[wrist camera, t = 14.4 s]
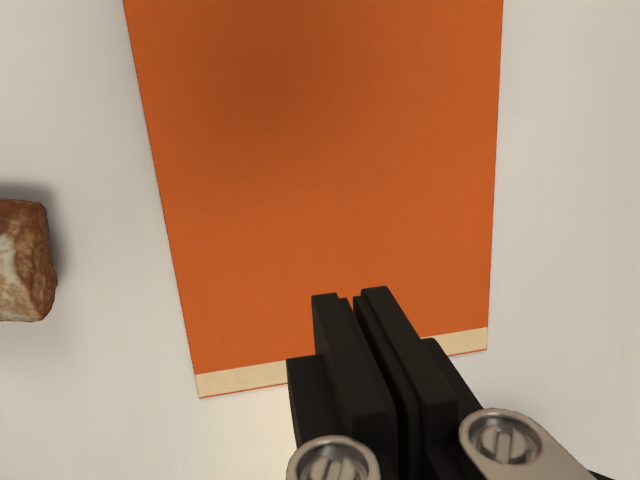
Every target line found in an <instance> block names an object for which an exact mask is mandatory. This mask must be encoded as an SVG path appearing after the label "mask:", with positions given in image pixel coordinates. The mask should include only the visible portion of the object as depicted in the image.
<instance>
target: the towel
mask: <svg viewBox="0 0 640 480" xmlns="http://www.w3.org/2000/svg"><path fill="white" fill-rule="evenodd" d="M123 5H124V10H125V15H126V20H127V26H128V31H129V36H130V41H131V46H132V52H133V57H134V62H135V67H136V72H137V78H138V83H139V88H140V93H141V98H142V104H143V109H144V114H145V119H146V124H147V129H148V135H149V140H150V145H151V150H152V155H153V161H154V166H155V171H156V176H157V181H158V187H159V192H160V197H161V202H162V207H163V213H164V218H165V223H166V228H167V233H168V239H169V244H170V249H171V254H172V259H173V265H174V270H175V275H176V280H177V285H178V291H179V296H180V301H181V306H182V311H183V317H184V322H185V327H186V332H187V337H188V343H189V348H190V353H191V358H192V363H193V369H194V374H195V379H196V384H197V389H198V395H199V398H206V397H212V396H218V395H224V394H230V393H236V392H242V391H247V390H253V389H259V388H265V387H271V386H277V385H283V384H288V380H287V371H286V359H288V358H295V357H302V356H308V355H315V344H314V332H313V319H312V306H311V296H312V295H319V294H326V293H334V292H336V293H337V295H338V297H339V298H345V297H347V299H348V301H349V303H350V306H351V308H352V310H353V296H360V294H361V289H364V288H371V287H379V286H387V287H388V288H389V290H390V291H391V293H392V294H393V296H394V298H395V299H396V301H397V302H398V304H399V306H400V307H401V309H402V310H403V312H404V313H405V315H406V317H407V318H408V320H409V321H410V323H411V324H412V326H413V328H414V329H415V331H416V332H417V334H418V336H419V337H420V339H423V338H430V337H432V338H435V340H436V341H437V342H438V343H439V345H440V346H441V348H442V349H443V350H444V352H445V353H446V355H447V356H453V355H459V354H465V353H471V352H477V351H483V350H487V333H488V310H489V289H490V268H491V247H492V226H493V205H494V184H495V163H496V142H497V121H498V100H499V78H500V57H501V36H502V15H503V0H123Z"/></svg>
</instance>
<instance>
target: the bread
mask: <svg viewBox="0 0 640 480" xmlns="http://www.w3.org/2000/svg"><path fill="white" fill-rule="evenodd" d="M48 240H49V228H48V220H47V211H46V208H45V207H44V206H43V205H42V204H41V203H39V202H31V201H23V200H13V199H0V321H23V322H34V321H40V320H43V319H44V318H45V317H46V316H47V314H48V313H49V312H50V310H51V309H52V305H53V302H54V300H55V290H56V287H57V285H58V281H57V274H56V273H55V271H54V270H53V263H52V260H51V252H50V248H49V244H48Z"/></svg>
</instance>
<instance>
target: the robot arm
mask: <svg viewBox="0 0 640 480" xmlns="http://www.w3.org/2000/svg"><path fill="white" fill-rule="evenodd" d="M311 306H312V319H313V332H314V344H315V355H308V356H302V357H295V358H288V359H286V371H287V380H288V390H289V399H290V407H291V414H292V421H293V428H294V434H295V440H296V446H297V450H296V451H295V452H294V454H293V455H292V457H291V458H290V459H289V462H288V466H287V470H286V480H614V479H611V478H608V477H606V476H603V475H600V474H598V473H595V472H593V471H590V470H587V469H586V468H585V467H583V466H582V465H581V464H580V463H579V462H578V461H577V460H576V459H575V458H574V457H573V456H572V455H571V454H570V453H569V452H568V451H567V450H566V449H565V448H564V447H563V446H562V445H561V444H560V443H558V442H557V441H556V440H555V439H554V438H553V437H552V436H551V435H550V434H549V433H548V432H547V431H546V430H545V429H544V428H543V427H542V426H541V425H539V424H538V423H537V422H535V421H534V420H533V419H531V418H529V417H527V416H525V415H523V414H521V413H519V412H515V411H511V410H507V409H499V408H488V409H483V408H482V406H481V405H480V403H479V402H478V400H477V399H476V397H475V396H474V394H473V393H472V392H471V390H470V389H469V387H468V386H467V384H466V383H465V381H464V380H463V378H462V377H461V375H460V374H459V372H458V371H457V370H456V368H455V367H454V365H453V364H452V362H451V361H450V359H449V358H448V356H447V355H446V353H445V352H444V350H443V349H442V348H441V346H440V345H439V343H438V342H437V341H436V340H435V338H432V337H430V338H423V339H420V337H419V336H418V334H417V332H416V331H415V329H414V328H413V326H412V324H411V323H410V321H409V320H408V318H407V317H406V315H405V313H404V312H403V310H402V309H401V307H400V306H399V304H398V302H397V301H396V299H395V298H394V296H393V294H392V293H391V291H390V290H389V288H388V287H387V286H379V287H371V288H364V289H361V294H360V296H353V310H352V308H351V306H350V303H349V301H348V299H347V297H345V298H339V297H338V295H337V293H336V292H334V293H326V294H319V295H312V296H311Z"/></svg>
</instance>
